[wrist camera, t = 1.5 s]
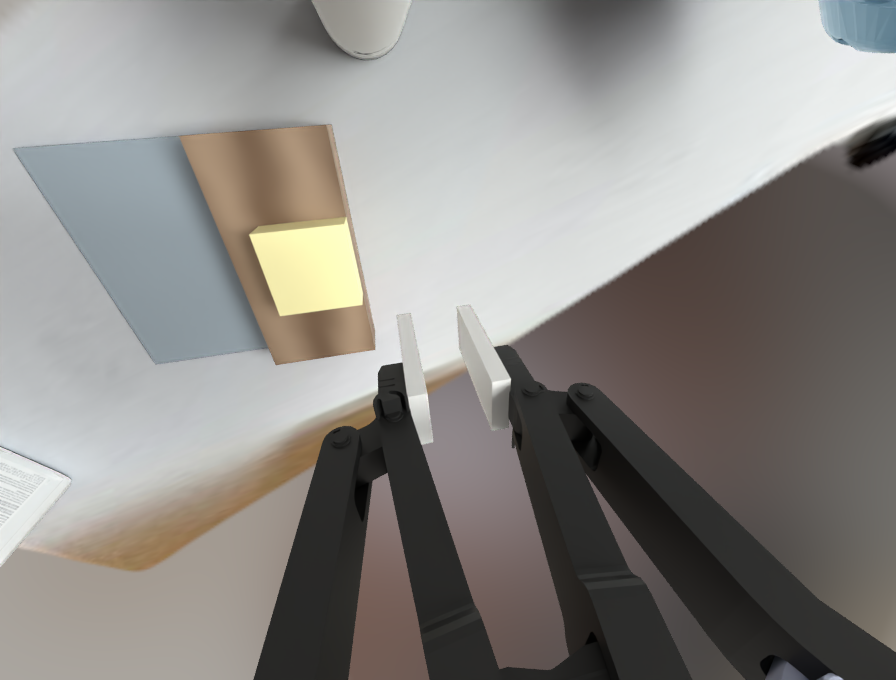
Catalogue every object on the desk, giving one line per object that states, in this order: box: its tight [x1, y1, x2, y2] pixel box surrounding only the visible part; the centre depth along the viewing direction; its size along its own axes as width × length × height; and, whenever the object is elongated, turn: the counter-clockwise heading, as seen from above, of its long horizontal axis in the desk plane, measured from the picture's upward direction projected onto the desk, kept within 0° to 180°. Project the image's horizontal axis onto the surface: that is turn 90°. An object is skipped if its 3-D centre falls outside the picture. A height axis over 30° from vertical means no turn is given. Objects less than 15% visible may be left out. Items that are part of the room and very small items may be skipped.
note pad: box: [249, 217, 363, 316], centre depth 29 cm, size 7×7×2 cm
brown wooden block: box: [179, 125, 375, 365], centre depth 31 cm, size 10×20×4 cm, turn 3°
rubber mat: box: [12, 136, 268, 364], centre depth 32 cm, size 13×20×1 cm, turn 3°
